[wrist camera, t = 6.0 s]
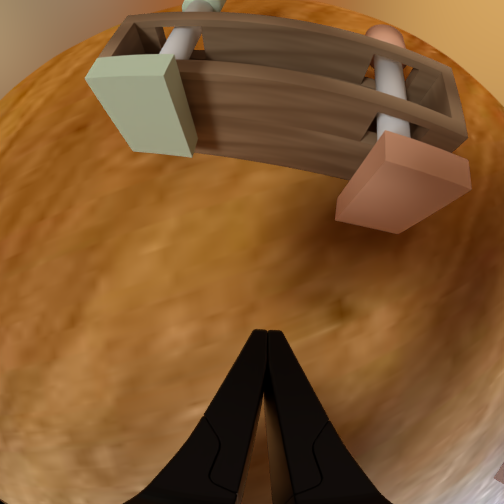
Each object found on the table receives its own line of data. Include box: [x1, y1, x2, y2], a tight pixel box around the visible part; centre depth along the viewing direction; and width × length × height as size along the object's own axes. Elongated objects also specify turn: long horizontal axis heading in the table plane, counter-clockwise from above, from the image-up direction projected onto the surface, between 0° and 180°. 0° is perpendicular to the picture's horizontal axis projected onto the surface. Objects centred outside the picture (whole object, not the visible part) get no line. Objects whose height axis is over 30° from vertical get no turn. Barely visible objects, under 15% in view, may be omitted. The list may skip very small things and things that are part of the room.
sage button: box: [85, 0, 226, 157], centre depth 17 cm, size 14×4×8 cm, turn 169°
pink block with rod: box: [335, 25, 472, 234], centre depth 16 cm, size 14×4×8 cm, turn 169°
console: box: [98, 12, 468, 180], centre depth 19 cm, size 6×22×9 cm, turn 79°
